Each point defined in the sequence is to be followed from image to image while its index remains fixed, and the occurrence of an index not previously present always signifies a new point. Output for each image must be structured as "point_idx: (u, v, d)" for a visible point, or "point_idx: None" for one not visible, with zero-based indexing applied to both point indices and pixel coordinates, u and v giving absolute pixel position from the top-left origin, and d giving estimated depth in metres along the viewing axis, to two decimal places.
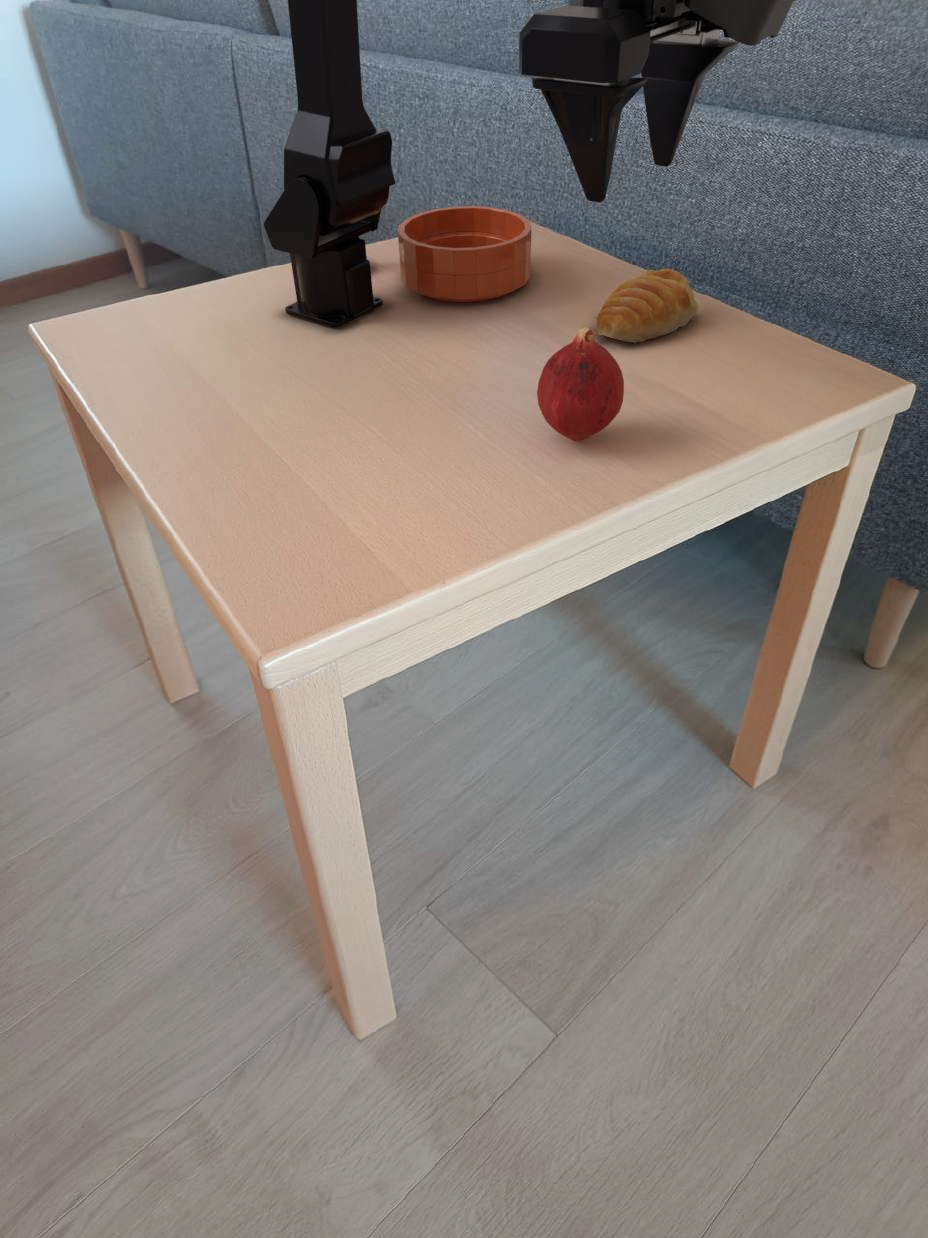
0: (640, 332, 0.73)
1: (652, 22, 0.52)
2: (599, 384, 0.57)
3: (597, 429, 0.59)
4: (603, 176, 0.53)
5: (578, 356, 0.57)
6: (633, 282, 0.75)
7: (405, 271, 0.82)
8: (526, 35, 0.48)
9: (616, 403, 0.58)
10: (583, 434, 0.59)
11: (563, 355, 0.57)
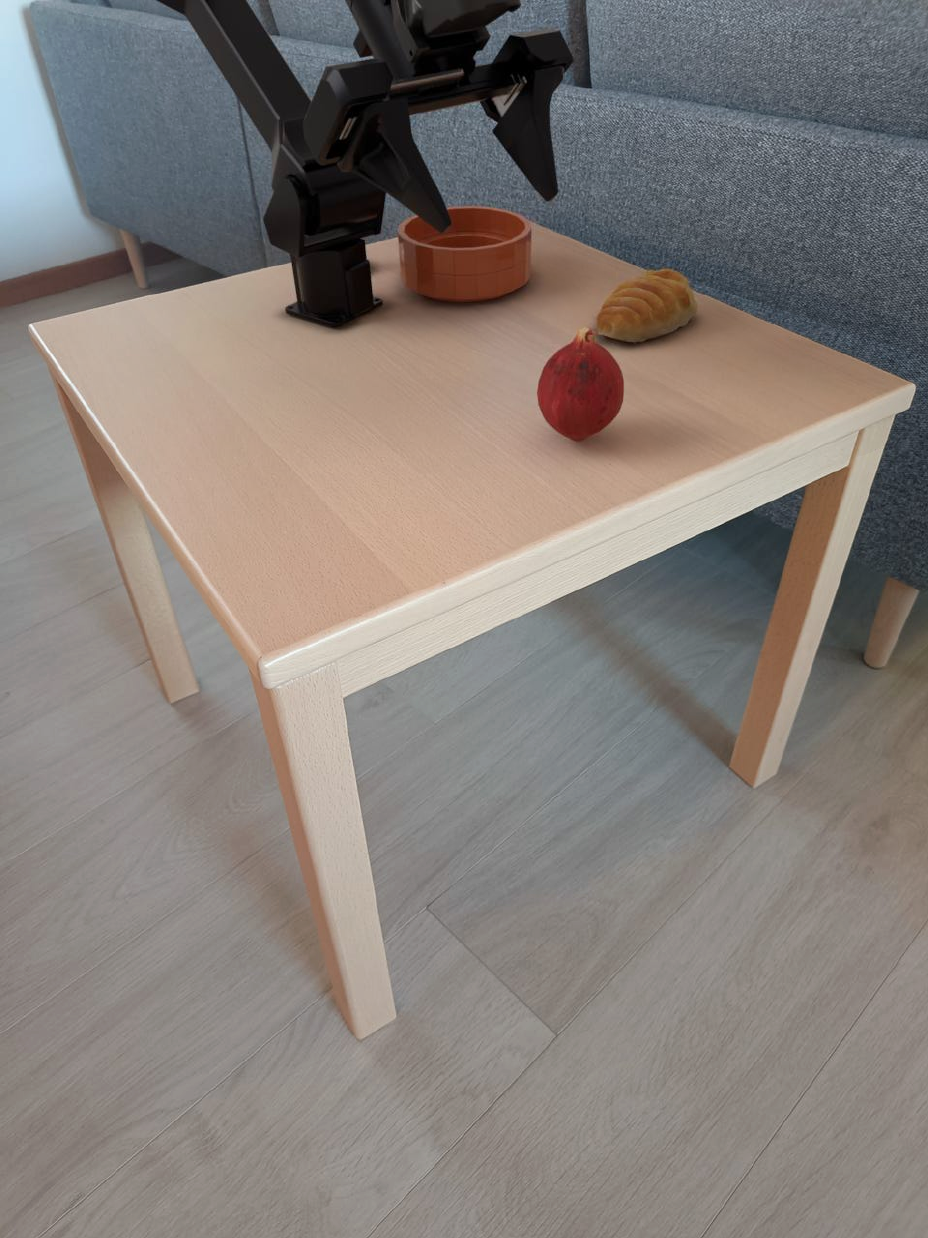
0: (640, 332, 0.73)
1: None
2: (599, 384, 0.57)
3: (597, 429, 0.59)
4: (431, 199, 0.55)
5: (578, 356, 0.57)
6: (633, 282, 0.75)
7: (405, 271, 0.82)
8: (303, 132, 0.55)
9: (616, 403, 0.58)
10: (583, 434, 0.59)
11: (563, 355, 0.57)
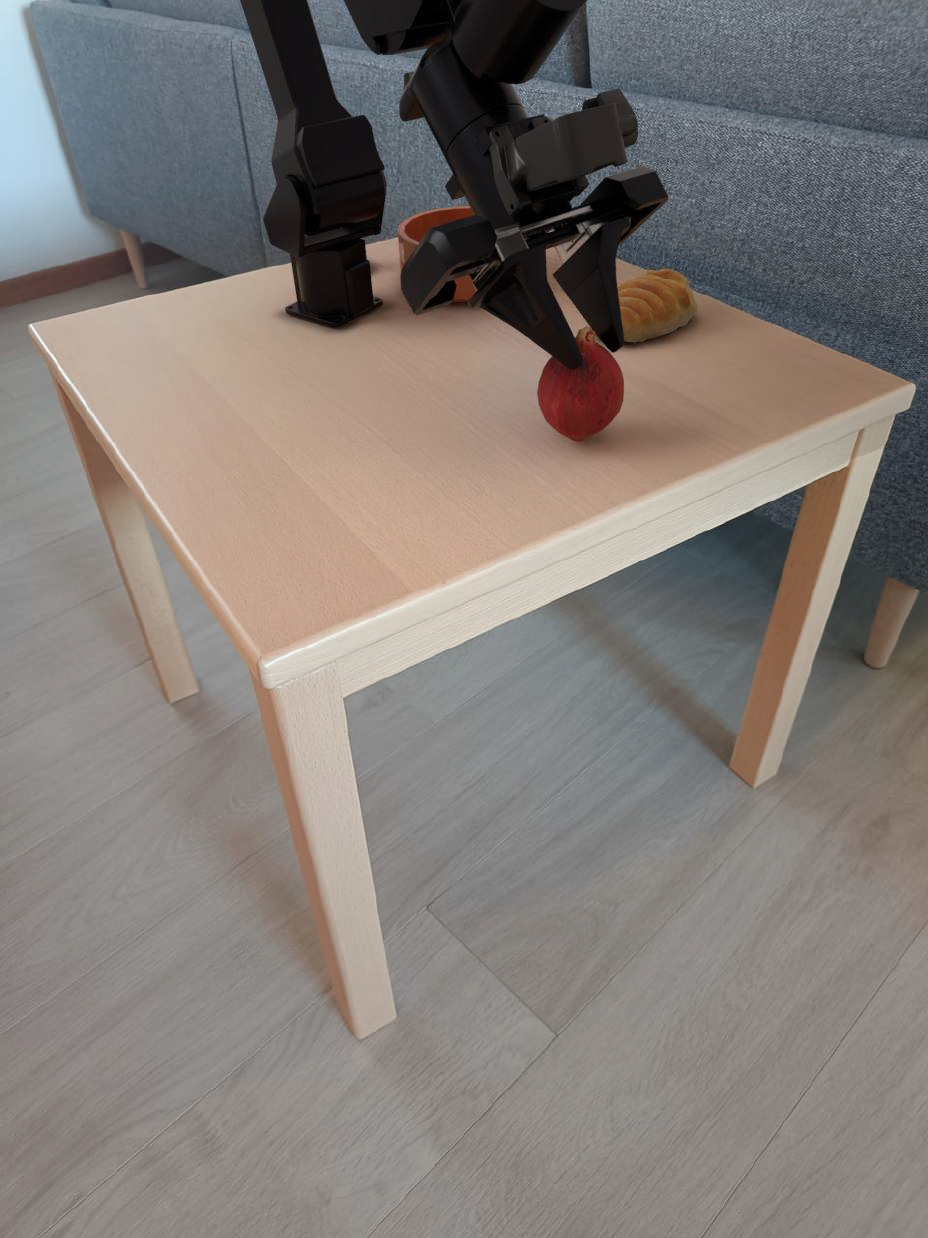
0: (640, 332, 0.73)
1: None
2: (600, 383, 0.57)
3: (597, 429, 0.59)
4: (564, 340, 0.55)
5: None
6: (633, 282, 0.75)
7: None
8: None
9: (616, 403, 0.58)
10: (583, 434, 0.59)
11: None
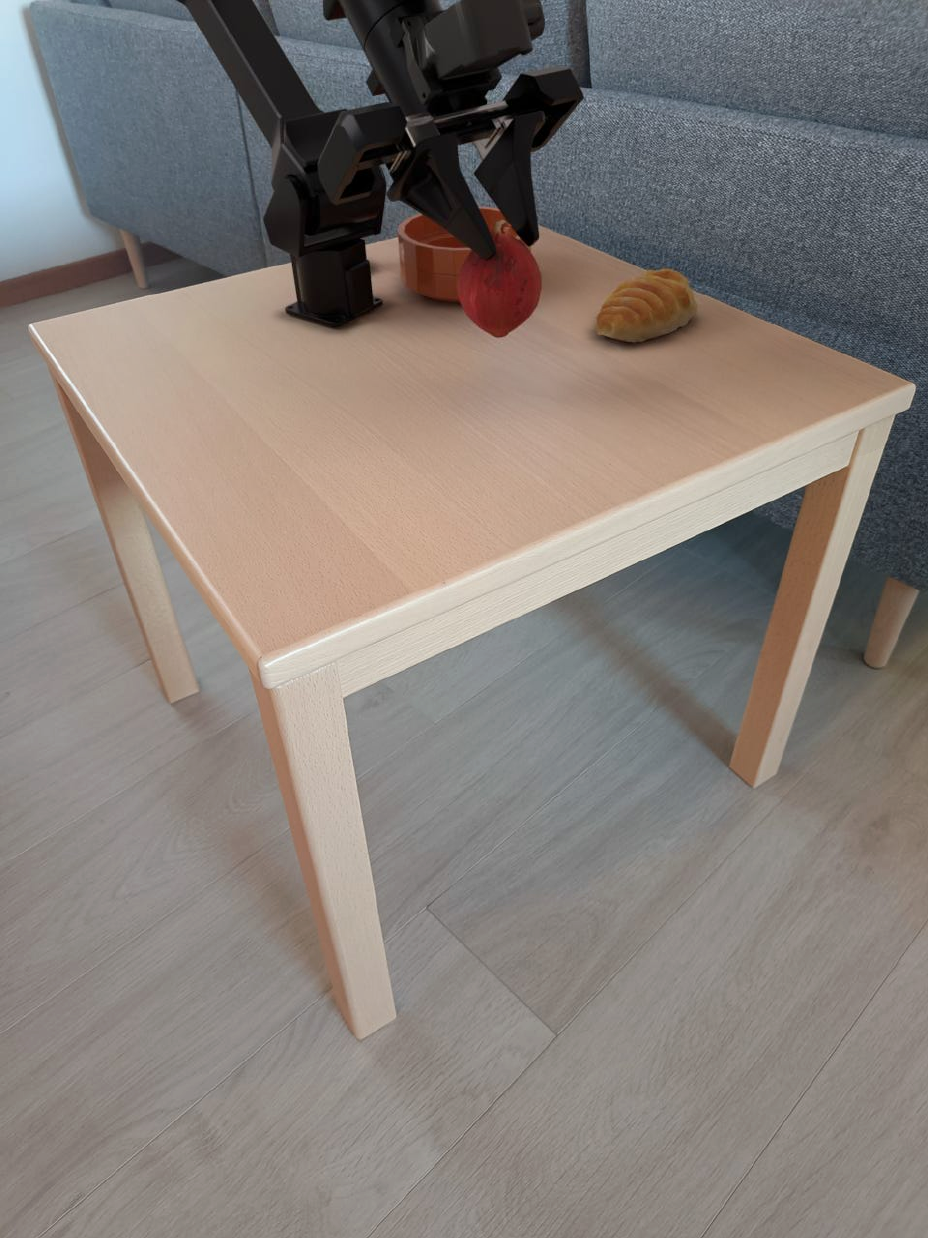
0: (640, 332, 0.73)
1: None
2: (514, 274, 0.59)
3: (515, 322, 0.61)
4: (477, 229, 0.57)
5: None
6: (633, 282, 0.75)
7: (405, 271, 0.82)
8: (318, 173, 0.56)
9: (532, 295, 0.60)
10: (501, 327, 0.61)
11: None
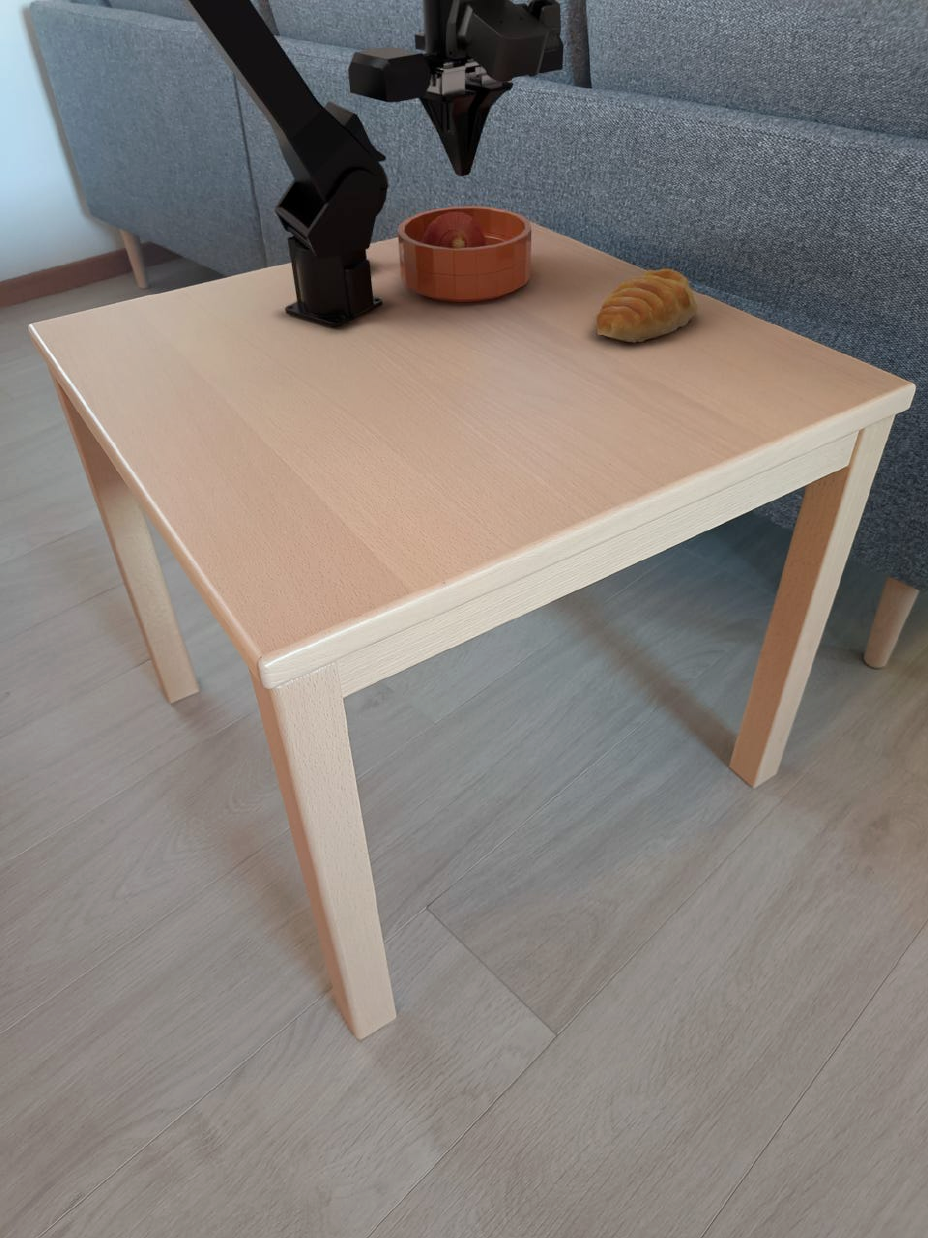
0: (640, 332, 0.73)
1: None
2: None
3: (428, 238, 0.80)
4: (459, 157, 0.77)
5: None
6: (633, 282, 0.75)
7: (405, 271, 0.82)
8: (349, 66, 0.70)
9: None
10: None
11: None
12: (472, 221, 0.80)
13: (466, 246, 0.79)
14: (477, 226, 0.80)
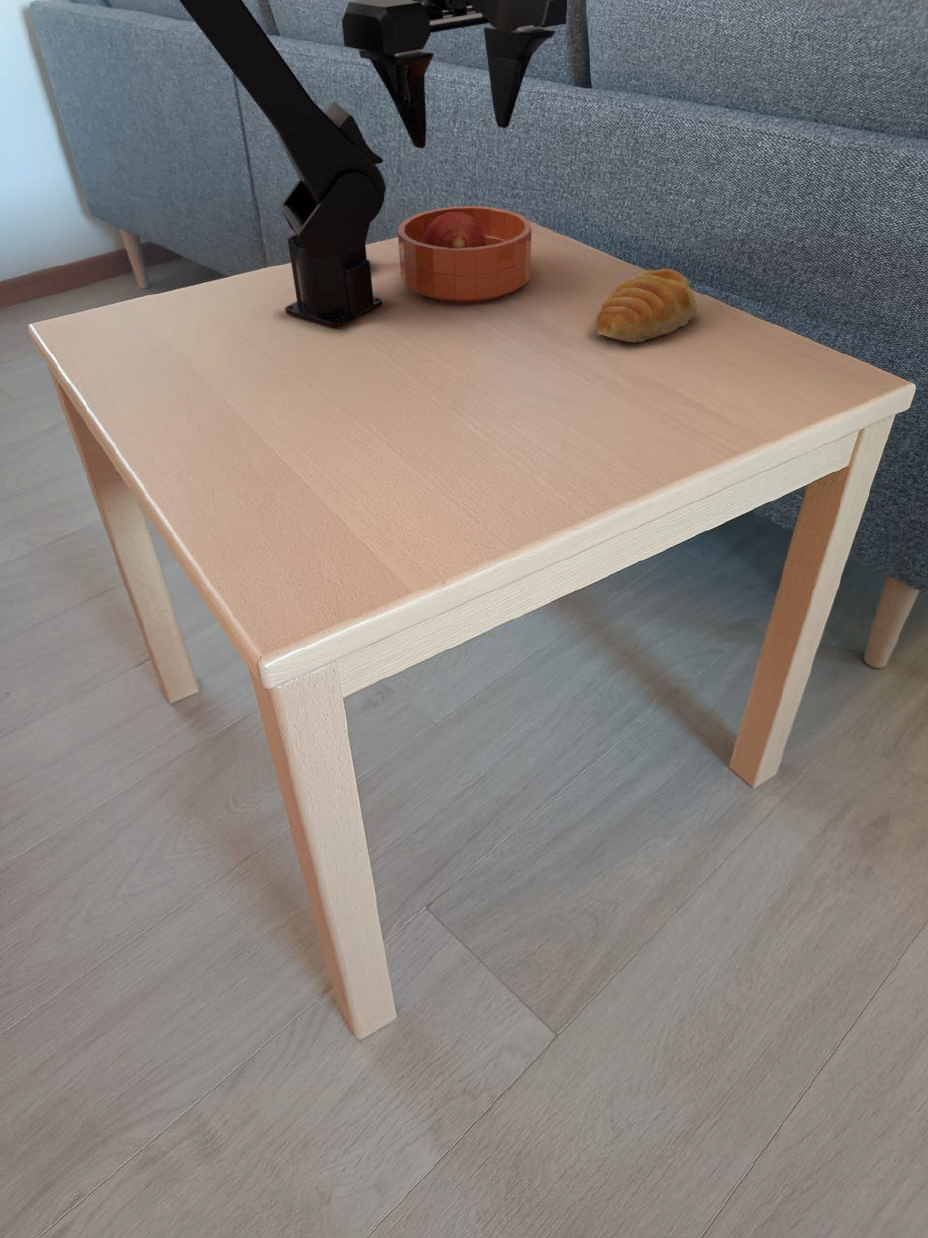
0: (640, 332, 0.73)
1: (462, 12, 0.69)
2: None
3: (428, 238, 0.80)
4: (417, 127, 0.71)
5: None
6: (633, 282, 0.75)
7: (405, 271, 0.82)
8: (343, 17, 0.66)
9: None
10: None
11: None
12: (472, 221, 0.80)
13: (466, 246, 0.79)
14: (477, 226, 0.80)
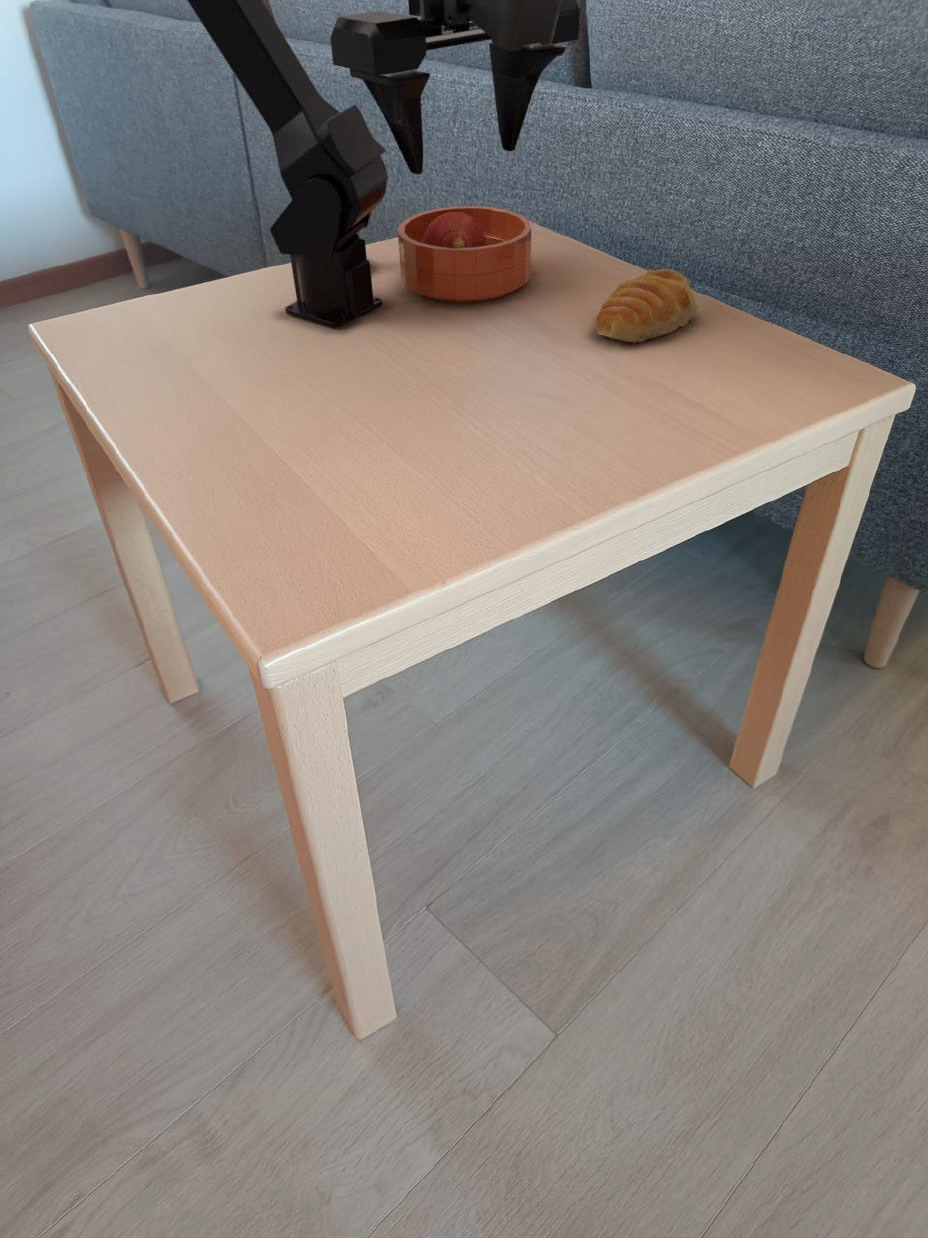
0: (640, 332, 0.73)
1: (463, 27, 0.63)
2: None
3: (428, 238, 0.80)
4: (414, 152, 0.65)
5: None
6: (633, 282, 0.75)
7: (405, 271, 0.82)
8: None
9: None
10: None
11: None
12: (472, 221, 0.80)
13: (466, 246, 0.79)
14: (477, 226, 0.80)
